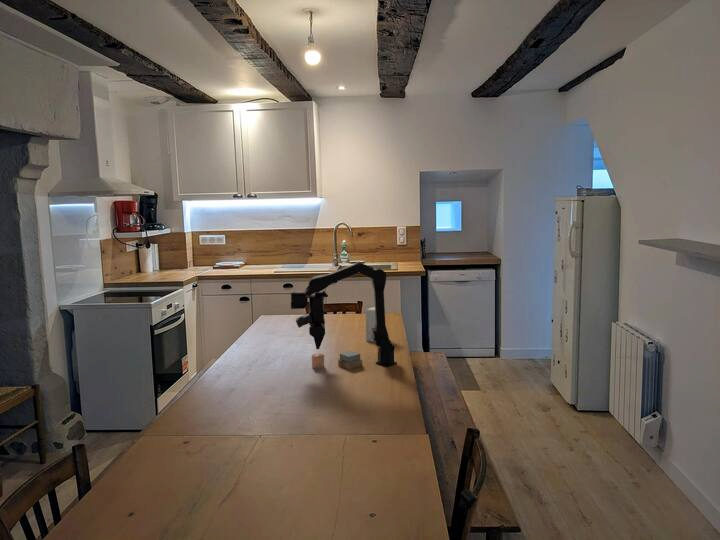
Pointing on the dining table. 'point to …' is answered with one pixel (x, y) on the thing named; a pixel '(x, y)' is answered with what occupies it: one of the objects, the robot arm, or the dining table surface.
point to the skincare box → (370, 323)
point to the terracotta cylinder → (317, 361)
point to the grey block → (349, 356)
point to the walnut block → (350, 364)
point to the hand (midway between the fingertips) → (317, 345)
